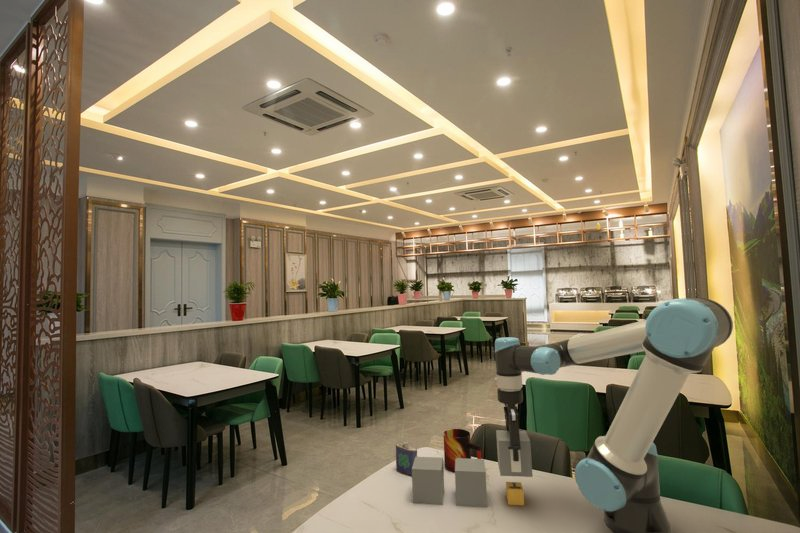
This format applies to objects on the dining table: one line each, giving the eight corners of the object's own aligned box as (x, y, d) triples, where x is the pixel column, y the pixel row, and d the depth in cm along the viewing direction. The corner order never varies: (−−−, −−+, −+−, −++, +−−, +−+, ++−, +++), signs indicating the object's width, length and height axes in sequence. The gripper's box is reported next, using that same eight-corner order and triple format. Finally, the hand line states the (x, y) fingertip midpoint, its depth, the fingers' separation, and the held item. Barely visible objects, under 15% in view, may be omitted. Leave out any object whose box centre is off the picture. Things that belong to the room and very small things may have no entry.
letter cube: (521, 497, 119) (521, 481, 120) (524, 505, 115) (523, 489, 115) (506, 496, 120) (505, 481, 120) (508, 504, 115) (507, 488, 116)
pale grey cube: (527, 463, 121) (525, 430, 122) (532, 476, 113) (530, 441, 113) (498, 462, 123) (496, 430, 124) (500, 475, 114) (498, 440, 115)
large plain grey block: (444, 489, 125) (443, 457, 126) (442, 504, 116) (441, 470, 117) (416, 488, 127) (415, 456, 127) (412, 503, 118) (411, 468, 119)
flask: (419, 475, 136) (418, 443, 137) (414, 478, 134) (412, 446, 135) (399, 468, 142) (398, 437, 143) (393, 471, 140) (392, 440, 140)
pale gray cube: (485, 491, 123) (484, 459, 124) (487, 507, 114) (485, 472, 115) (456, 490, 125) (455, 458, 125) (456, 505, 116) (454, 470, 116)
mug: (482, 476, 134) (480, 440, 135) (442, 471, 138) (441, 437, 139) (484, 464, 143) (483, 430, 144) (447, 460, 147) (446, 427, 148)
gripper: (494, 380, 131) (498, 450, 129) (500, 397, 110) (505, 480, 108) (517, 380, 130) (521, 450, 128) (527, 397, 108) (533, 481, 107)
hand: (514, 464), depth 118 cm, fingers closed on pale grey cube, 9 cm apart
